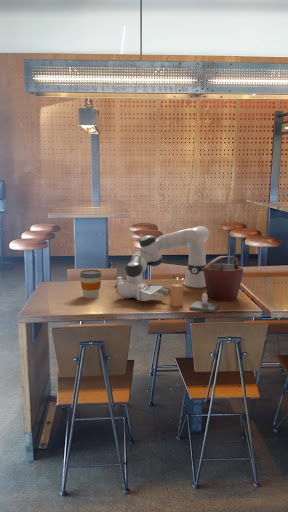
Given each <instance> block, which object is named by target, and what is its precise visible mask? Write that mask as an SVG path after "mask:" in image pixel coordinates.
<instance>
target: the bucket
mask: <svg viewBox="0 0 288 512" xmlns="http://www.w3.org/2000/svg"><path fill="white" fill-rule="evenodd" d="M225 258H232V264H230V263H216V262H218V261H220V260H222V259H225ZM243 276H244V268H243V267H241V266H240V262H239V261H238V257H236V256H230V255H220V256H217V257H216V258H214V259H212V260H211V261H209V262H208V263H207V264H206V266H205V267H204V277H205V283H206V287H205V288H206V289H205V290H206V294H207V296H208V297H207V299H210V300H213V301H216V302H231V301H235V300H237V299H238V296H239V291H240V287H241V284H242V279H243Z"/></svg>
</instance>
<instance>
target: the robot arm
mask: <svg viewBox="0 0 288 512" xmlns="http://www.w3.org/2000/svg"><path fill="white" fill-rule="evenodd" d="M209 238H210V230H209V229H208V228H207V227H205V226H203V225H198V226H194V227H190V228H186V229H182V230H177V231H174V232H169V233H165V234H163V235H162V234H161V235H159V236H158V237H157V236H154V235H151V234H147V235H146V234H145V235H144V236H141V238H140V239H139V241H138V243H139V246H140V249H141V250H138V251H135V252H134V253H133V254H132V256H131V258H130V261H129V262H128V263H127V264H126V266H125V268H124V271H125V275H126V281H125V282H119V283H118V284H117V286H116V293H117V295H118V296H120V297H122V298H128V299H129V298H130V299H132V298H135V299H136V300H137V301H142V300H143V301H152V300H153V299H155V298H163V297H164V294H169V293H170V290H169V289H165V288H164V286H163V285H150V286H148V284H147V283H145V282H144V275H143V273H144V272H145V271H146V270H147V266H150V267H158V266H159V265H161V264H162V263H163V262H164V259H163V254H162V253H161V251H170V250H175V249H180V248H184V247H187V250H188V264H187V270H186V272H185V277H184V281H183V282H182V285H184V286H186V287H189V288H198V289H199V288H206V283H205V277H204V267H205V266H206V265H207V263H206V261H207V260H206V255H207V252H206V250H205V245H204V244H205V242H206V241H207V240H208V239H209ZM163 293H164V294H163Z"/></svg>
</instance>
